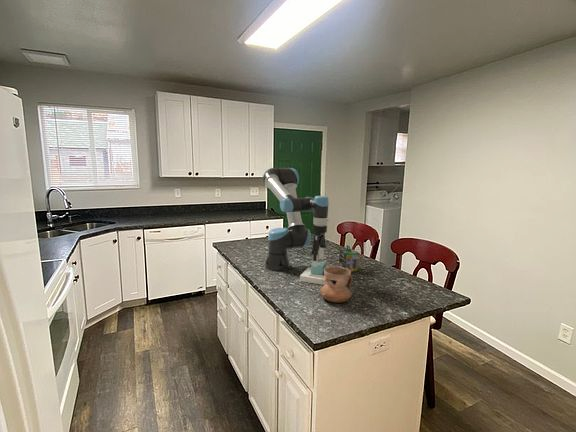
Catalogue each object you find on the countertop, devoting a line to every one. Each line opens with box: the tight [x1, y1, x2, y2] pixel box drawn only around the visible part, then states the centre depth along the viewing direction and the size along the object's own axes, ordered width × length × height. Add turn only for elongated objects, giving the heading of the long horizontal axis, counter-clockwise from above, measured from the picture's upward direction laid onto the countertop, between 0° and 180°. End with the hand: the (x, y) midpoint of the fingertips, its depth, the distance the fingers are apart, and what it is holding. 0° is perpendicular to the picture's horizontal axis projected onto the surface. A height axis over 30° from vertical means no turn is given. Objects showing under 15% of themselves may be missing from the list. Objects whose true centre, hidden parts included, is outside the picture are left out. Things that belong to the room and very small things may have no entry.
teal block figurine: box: [310, 261, 326, 275], centre depth 171 cm, size 7×5×8 cm
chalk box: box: [338, 245, 360, 273], centre depth 186 cm, size 9×9×15 cm
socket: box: [299, 266, 327, 286], centre depth 171 cm, size 20×16×4 cm
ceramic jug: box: [319, 265, 353, 304], centre depth 145 cm, size 18×14×14 cm
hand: (318, 262), depth 170 cm, fingers open, 13 cm apart
